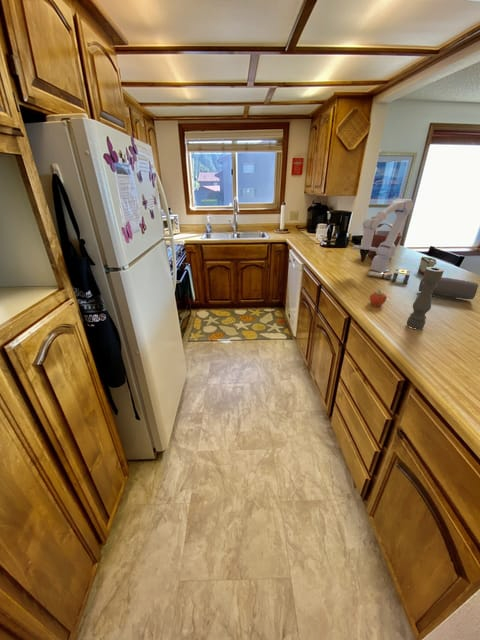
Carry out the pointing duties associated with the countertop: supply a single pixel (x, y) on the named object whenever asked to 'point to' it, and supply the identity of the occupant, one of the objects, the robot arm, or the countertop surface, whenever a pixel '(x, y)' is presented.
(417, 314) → the candle holder
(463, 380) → the countertop surface
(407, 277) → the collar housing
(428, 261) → the food container
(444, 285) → the bluetooth speaker
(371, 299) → the tomato
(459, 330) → the countertop surface
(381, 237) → the bucket
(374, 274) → the tube
